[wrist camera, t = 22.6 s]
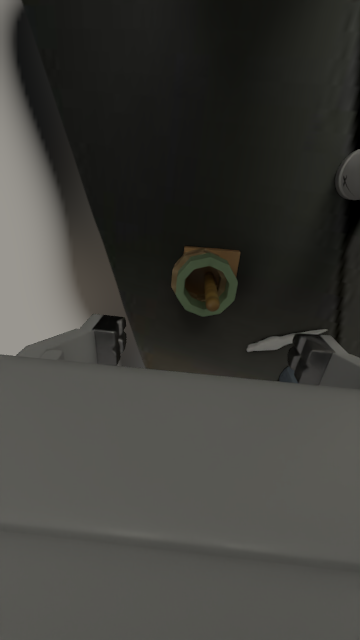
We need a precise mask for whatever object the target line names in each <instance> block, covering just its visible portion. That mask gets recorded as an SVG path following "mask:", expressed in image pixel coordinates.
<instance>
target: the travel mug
mask: <svg viewBox="0 0 360 640" xmlns="http://www.w3.org/2000/svg"><path fill="white" fill-rule="evenodd" d="M335 187H336V190H337V192H338V193H339V195H340V196H341V197H343V198H345V199H349V200H360V149H358V150H356V151H354V152H352V153H351V154H350V155H348V156H347V157H346V158H345V159H344V160H343V162H342V163H341V165H340V166H339V168H338V170H337V173H336V177H335Z"/></svg>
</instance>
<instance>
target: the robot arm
mask: <svg viewBox="0 0 360 640" xmlns="http://www.w3.org/2000/svg"><path fill="white" fill-rule="evenodd" d="M125 327H126V320H125V318H124V317H118V316H109V315H100V314H93V315H92V316H91V317H90V318H89V319H88V320H87V321H86V322H85V323H84V324H83V326H82V327H81V328H80V329H74V330H71V331H69V332H66V333H63V334H60V335H57V336H54V337H52V338H49V339H46V340H43V341H40V342H37V343H34V344H32V345H28V346H26V347H25V348H24V349H23V350H22V351H21V352H19V353H18V354H17V355H16V356H9V355H0V640H360V358H358V357H356V356H354V355H351V354H348V353H347V352H346V351H345V350H344V349H343V348H342V347H341V346H340V345H339V344H338V343H337V342H336V341H335V340H334V339H333V338H332V337H331V336H329V335H317V334H303V333H296V334H295V335H294V337H293V340H292V342H293V344H294V346H293V347H291V348H290V349H289V352H288V365H289V367H290V368H291V369H292V370H294V371H295V372H294V376H295V378H296V380H297V382H298V383H288V382H278V381H268V380H257V379H247V378H237V377H226V376H216V375H206V374H196V373H185V372H175V371H165V370H155V369H144V368H134V367H124V366H117V364H118V362H119V360H120V354H121V353H123V351H124V349H125V345H126V333H125V332H124V328H125Z"/></svg>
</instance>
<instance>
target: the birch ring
mask: <svg viewBox="0 0 360 640" xmlns="http://www.w3.org/2000/svg"><path fill="white" fill-rule="evenodd" d="M205 253H212V254H214V255H216V256H219V255H217V254H215V253H213V252H211V251H208V250H206V249H204V248H201V249H197V250H192V251H187V252H185V253H184V254H183V255H182V257H181V258H180V259H179V260H178V261H177V262H176V263H175V264H174V267H173V270H172V282H171V288H172V289H173V291H174V292H175V294H176V282H177V275H178V271H179V270H180V268H181V267H182V266H183V265H184V264H185V263H186V262H187V260H188V259H189V258H190V257H192V256H196V255H201V254H205ZM219 257H220V256H219ZM217 271H218V273H219V278H218V284H217V285H216V287H217V292H218V297H219V296H220V295H221V294H222V293H223V292H224V291H225V287H226V281H227V279H226V277H225V275H224V273H223V272H222V271H220V270H217ZM188 293H189V294H190V296H191V297H192V298H194V299H197V300H199V301H201V302H205V293H204V294H199V295H196V294H194V293H192V292H189V291H188Z"/></svg>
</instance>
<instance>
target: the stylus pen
mask: <svg viewBox="0 0 360 640" xmlns="http://www.w3.org/2000/svg"><path fill="white" fill-rule="evenodd" d="M325 331H327V329H322V330H313V331H307V332H302V333H303V334H320V333H322V332H325ZM295 334H296V333H293V334H288V335H285V336H281V337H279V336H271V337H268V338H266V339H264V340H262V341H258V343H254V344H249V345H248V347H249V348H247V352H251V351H264V350H277V349H279V348H281V347H282V346H284V345H287V344H290V343H293V342H292V340H293V337H294V335H295Z"/></svg>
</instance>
